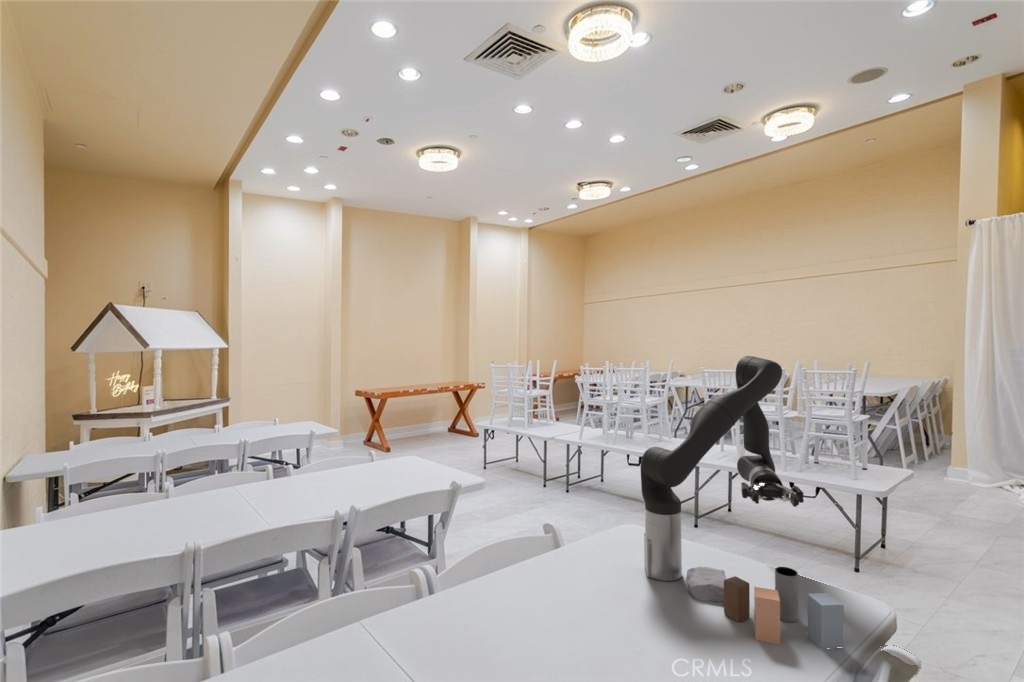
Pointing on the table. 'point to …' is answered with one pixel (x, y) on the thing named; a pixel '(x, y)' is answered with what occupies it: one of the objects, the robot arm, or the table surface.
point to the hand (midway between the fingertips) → (776, 501)
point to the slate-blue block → (825, 620)
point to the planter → (787, 593)
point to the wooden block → (736, 599)
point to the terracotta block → (767, 615)
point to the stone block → (706, 583)
